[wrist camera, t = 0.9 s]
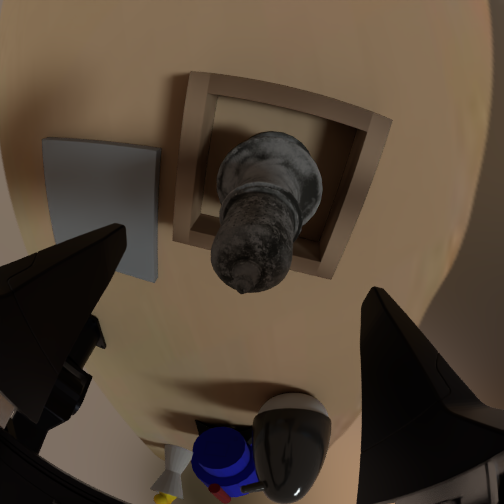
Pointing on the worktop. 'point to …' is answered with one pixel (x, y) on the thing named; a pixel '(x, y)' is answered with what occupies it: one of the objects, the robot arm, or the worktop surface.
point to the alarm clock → (223, 460)
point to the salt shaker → (263, 209)
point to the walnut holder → (367, 122)
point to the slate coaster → (105, 195)
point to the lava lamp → (171, 474)
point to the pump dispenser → (288, 446)
